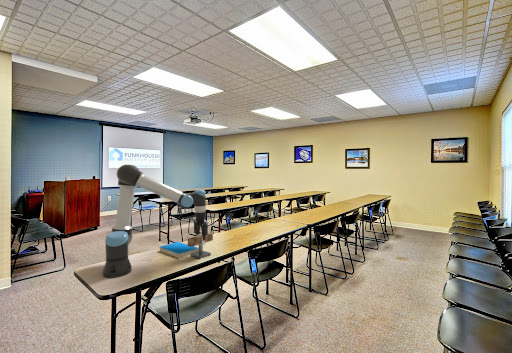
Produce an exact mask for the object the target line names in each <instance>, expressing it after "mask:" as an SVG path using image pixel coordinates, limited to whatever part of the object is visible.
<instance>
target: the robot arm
mask: <svg viewBox="0 0 512 353" xmlns="http://www.w3.org/2000/svg"><path fill="white" fill-rule="evenodd" d="M116 177H117V180H118V181H117V185H118V187H119V195H118V202H117V209H116V215H115V224H114V225H113V226H112V227H111V232H109V233H108V234H107V235H106V236H105V239H104V240H105V242H104V243H105V263H104V266H103V269H102V276H103V277H104V278H107V279H108V278H118V277H123V276H126V275H128V274H130V273H131V272H132V270H133V268H132V267H133V266H132V264H131V262H130V259H129V245H130V244H131V242H132V240H133V226H132V225H131V223H132V216H133V214H132V213H133V206H134V199H135V190H136V189H137V188H139V187H140V188H141V189H144V190H146V191H148V192H151V193H153V194H155V195H158V196H160V197H163V198H165V199H167V200H170V201H172V202H174V203H176V204H177V205H181V206H182V207H184V208H190V207H192V205H194V212H195V213H194V217H195V219H193V220H192V221H193V233H194V234H195V235H196V236H199V235H202V236H201V243H202V245H203V246H205V245H206V243H205V240H206V239H205V236H206V235H208V233H209V230H208V229H209V228H208V227H209V221H207V220H206V216H207V212H206V211H207V208H206V207H207V206H206V205H207V202H206V200H207V199H206V191H205V189H196V190H194V191H193V192H189V193H187V192H186V193H185V192H183V191H180V190H178V189H176V188H173V187H171V186H170V185H167V184H164V182H163V183H162V182H160V181H158V180H156V179H154V178H152V177H149V176H147V175H145V174H144V172H142V171H141V170H139V168H138V166H136V165H133V164H122V165H121V166H119V168H118V169H117V170H116ZM196 236H195V237H196Z"/></svg>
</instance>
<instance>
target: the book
mask: <svg viewBox="0 0 512 353" xmlns="http://www.w3.org/2000/svg"><path fill="white" fill-rule="evenodd" d="M159 251H160V252H161V253H164V254H167V255H170V256H172V257H175V258H178V259H181V258H184V257H188V256H191V254H192V253H195V252H198V251H199V246H198V247H197V246H193V247H190V246H188V243H184V242H179V241H176V242H172V243H168V244H165V245H161V246H159Z"/></svg>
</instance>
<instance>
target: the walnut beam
mask: <svg viewBox="0 0 512 353" xmlns="http://www.w3.org/2000/svg"><path fill="white" fill-rule="evenodd" d="M201 236H202V234H200V235H199V236H192V237H189V238H187V245H188V246H190V247H193V246H194V247H197V246H199V244H202V243H201ZM205 239H206V240H205V244H206V243H208V242H212V241H214V234H213V233H212V232H208V235H206V236H205Z"/></svg>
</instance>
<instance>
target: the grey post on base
mask: <svg viewBox="0 0 512 353" xmlns="http://www.w3.org/2000/svg"><path fill="white" fill-rule="evenodd" d="M203 248H204V245H202V244H199V245H198V249H199V251H198V252H195V253H192V254H191V255H190V257H192V258H196V259H199V260H202V259H205V258H206V257H209V256H212V254H211V252H209V251H205V250H204V249H203ZM201 258H202V259H201Z"/></svg>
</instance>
